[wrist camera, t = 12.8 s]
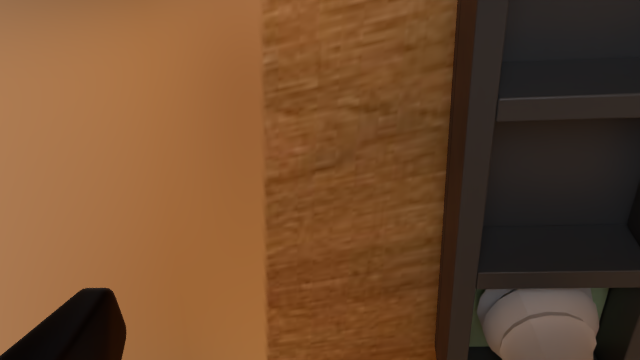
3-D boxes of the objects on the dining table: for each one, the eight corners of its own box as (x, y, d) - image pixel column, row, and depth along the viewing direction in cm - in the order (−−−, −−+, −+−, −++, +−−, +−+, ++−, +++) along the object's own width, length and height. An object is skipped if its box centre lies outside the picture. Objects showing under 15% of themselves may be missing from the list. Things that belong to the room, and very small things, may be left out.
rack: (434, 345, 27) (442, 405, 24) (469, -184, 15) (492, -177, 13) (602, 344, 26) (628, 405, 24) (771, -206, 15) (858, -202, 12)
